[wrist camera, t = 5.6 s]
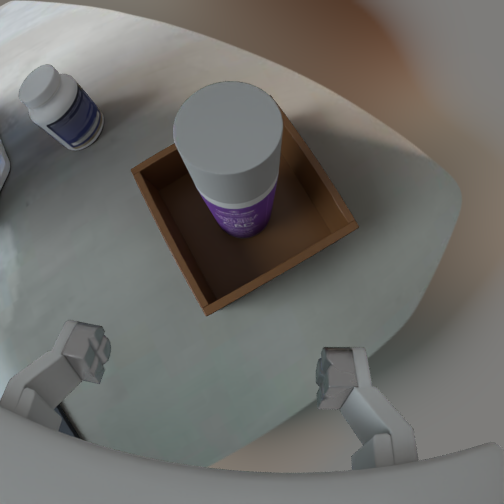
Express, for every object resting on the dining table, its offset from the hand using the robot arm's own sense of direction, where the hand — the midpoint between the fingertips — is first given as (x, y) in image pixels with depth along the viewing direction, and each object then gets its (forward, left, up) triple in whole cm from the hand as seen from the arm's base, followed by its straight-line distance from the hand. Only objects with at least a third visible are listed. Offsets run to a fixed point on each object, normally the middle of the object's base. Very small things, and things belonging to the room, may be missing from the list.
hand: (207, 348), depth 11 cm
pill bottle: (-24, -5, -16) cm, 29 cm away
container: (-7, +5, -15) cm, 17 cm away
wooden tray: (-7, +5, -15) cm, 18 cm away
